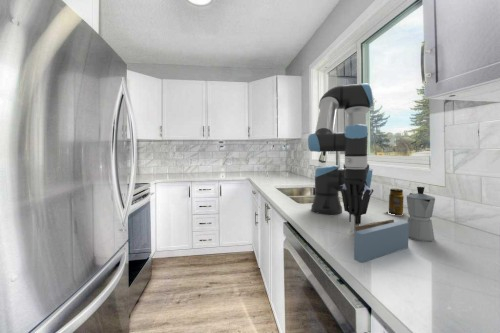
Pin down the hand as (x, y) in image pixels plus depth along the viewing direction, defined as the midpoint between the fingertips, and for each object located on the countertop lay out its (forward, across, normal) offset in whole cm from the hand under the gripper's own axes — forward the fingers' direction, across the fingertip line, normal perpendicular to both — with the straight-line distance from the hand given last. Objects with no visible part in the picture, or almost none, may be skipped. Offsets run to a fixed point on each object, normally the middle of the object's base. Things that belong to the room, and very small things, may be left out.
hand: (354, 231), depth 90 cm
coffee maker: (+1, +13, +18) cm, 22 cm away
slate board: (+1, +15, -7) cm, 17 cm away
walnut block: (0, +9, 0) cm, 9 cm away
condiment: (+2, -10, +42) cm, 43 cm away
